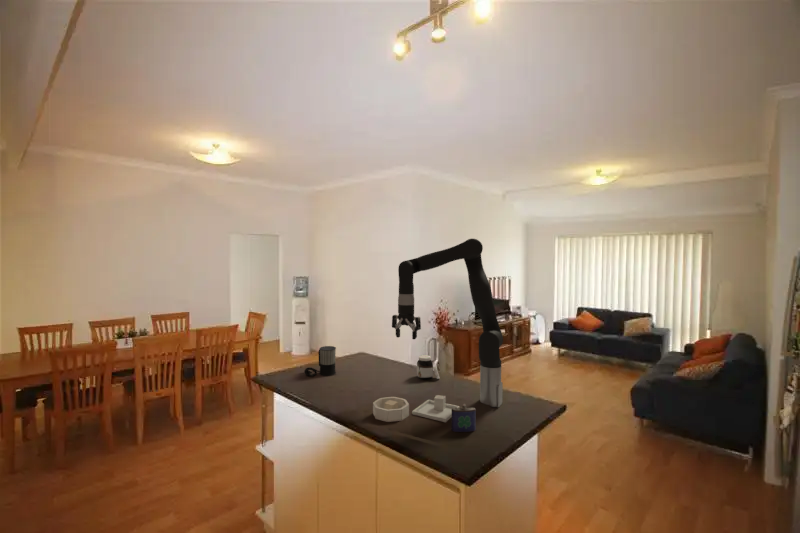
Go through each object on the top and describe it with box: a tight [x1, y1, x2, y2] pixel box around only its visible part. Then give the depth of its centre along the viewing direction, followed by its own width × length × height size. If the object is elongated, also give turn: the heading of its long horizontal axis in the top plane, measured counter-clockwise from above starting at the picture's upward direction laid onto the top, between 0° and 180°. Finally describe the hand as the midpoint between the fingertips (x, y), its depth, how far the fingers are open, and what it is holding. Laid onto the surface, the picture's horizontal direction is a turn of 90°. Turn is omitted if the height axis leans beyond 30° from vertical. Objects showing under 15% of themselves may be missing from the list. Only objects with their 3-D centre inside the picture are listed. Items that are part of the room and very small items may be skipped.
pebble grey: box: [433, 394, 447, 411], centre depth 159 cm, size 4×4×5 cm
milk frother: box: [303, 345, 337, 377], centre depth 210 cm, size 14×16×15 cm
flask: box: [451, 403, 477, 433], centre depth 139 cm, size 9×3×11 cm, turn 95°
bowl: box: [372, 396, 410, 423], centre depth 154 cm, size 14×14×5 cm
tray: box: [411, 399, 461, 423], centre depth 156 cm, size 15×15×2 cm
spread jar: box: [416, 354, 440, 381], centre depth 204 cm, size 12×11×12 cm
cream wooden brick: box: [385, 400, 398, 410], centre depth 154 cm, size 4×4×5 cm
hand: (406, 338), depth 174 cm, fingers open, 8 cm apart
